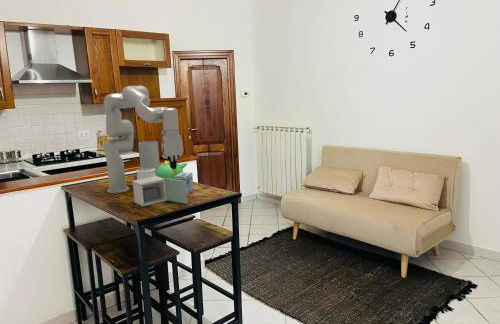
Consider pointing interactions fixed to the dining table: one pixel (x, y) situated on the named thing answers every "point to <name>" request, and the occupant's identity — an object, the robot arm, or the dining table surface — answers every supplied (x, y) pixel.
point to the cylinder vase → (149, 155)
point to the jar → (145, 173)
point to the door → (176, 190)
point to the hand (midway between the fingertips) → (173, 168)
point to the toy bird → (169, 170)
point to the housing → (149, 190)
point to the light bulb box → (188, 178)
